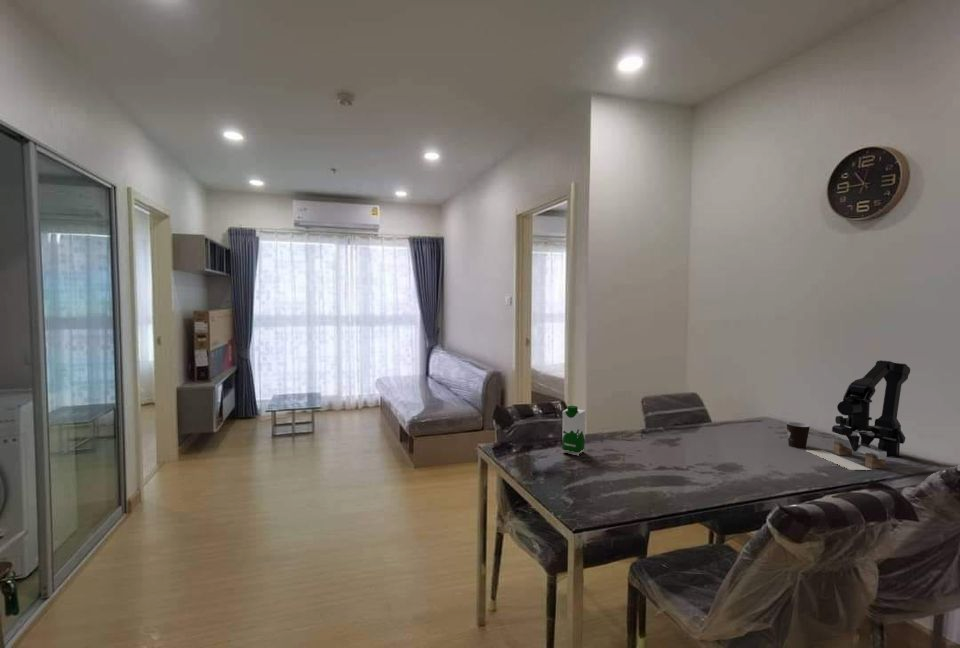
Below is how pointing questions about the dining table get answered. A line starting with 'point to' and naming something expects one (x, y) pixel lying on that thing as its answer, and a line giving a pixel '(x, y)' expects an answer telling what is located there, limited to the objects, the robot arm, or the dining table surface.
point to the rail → (862, 447)
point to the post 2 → (874, 461)
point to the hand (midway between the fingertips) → (858, 451)
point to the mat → (838, 460)
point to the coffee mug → (797, 434)
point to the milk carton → (573, 429)
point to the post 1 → (841, 449)
